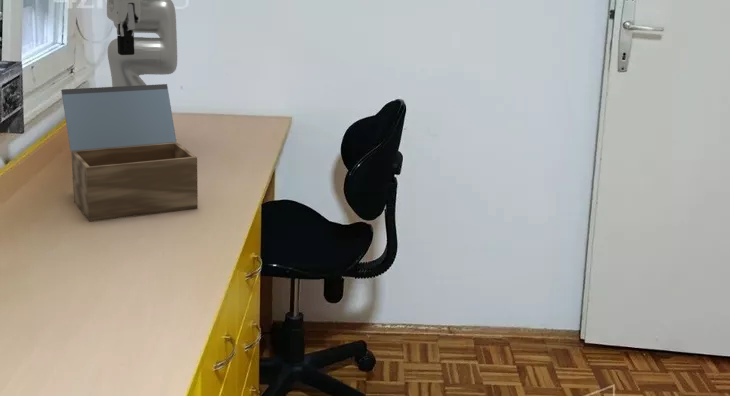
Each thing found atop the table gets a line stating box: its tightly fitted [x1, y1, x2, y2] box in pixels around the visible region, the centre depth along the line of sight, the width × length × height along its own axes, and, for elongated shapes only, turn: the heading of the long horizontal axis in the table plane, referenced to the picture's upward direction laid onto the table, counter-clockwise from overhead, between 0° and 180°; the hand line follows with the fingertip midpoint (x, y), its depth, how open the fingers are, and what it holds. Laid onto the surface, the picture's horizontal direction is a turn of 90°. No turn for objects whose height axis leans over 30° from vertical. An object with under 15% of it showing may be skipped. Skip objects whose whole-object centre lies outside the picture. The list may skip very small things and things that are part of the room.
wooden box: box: [70, 142, 199, 223], centre depth 197 cm, size 14×24×12 cm, turn 120°
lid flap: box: [61, 83, 178, 152], centre depth 202 cm, size 14×24×1 cm
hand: (126, 54), depth 193 cm, fingers closed
